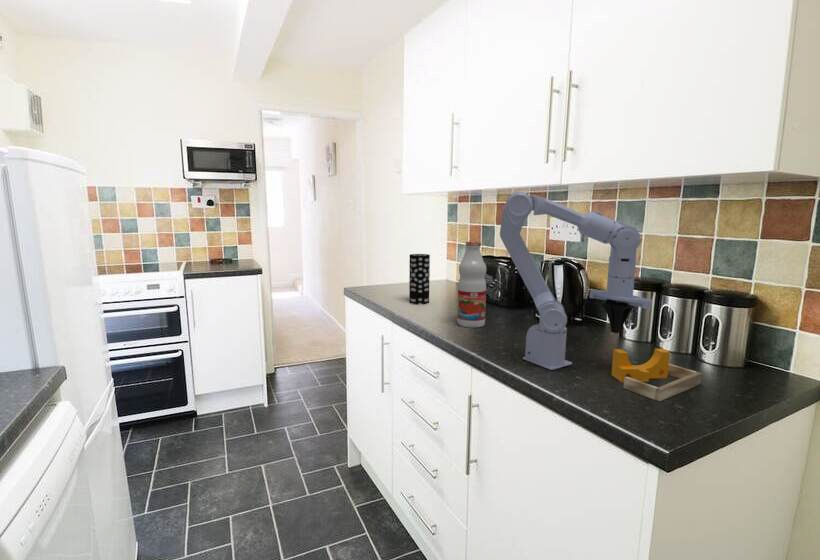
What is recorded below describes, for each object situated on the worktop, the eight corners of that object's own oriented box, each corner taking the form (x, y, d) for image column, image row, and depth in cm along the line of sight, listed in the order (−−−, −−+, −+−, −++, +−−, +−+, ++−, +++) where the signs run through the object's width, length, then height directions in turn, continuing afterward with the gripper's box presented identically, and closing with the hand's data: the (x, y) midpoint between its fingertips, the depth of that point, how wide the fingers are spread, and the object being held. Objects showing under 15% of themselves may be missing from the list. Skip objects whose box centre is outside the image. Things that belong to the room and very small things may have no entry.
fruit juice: (483, 321, 149) (486, 241, 145) (486, 328, 140) (489, 243, 135) (456, 320, 150) (458, 240, 145) (457, 327, 141) (459, 242, 136)
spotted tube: (428, 300, 183) (428, 253, 180) (430, 304, 175) (430, 256, 172) (408, 300, 183) (408, 253, 179) (410, 304, 174) (410, 256, 171)
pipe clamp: (621, 382, 97) (623, 355, 96) (611, 375, 101) (613, 349, 100) (672, 381, 98) (675, 354, 97) (660, 374, 102) (662, 348, 101)
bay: (623, 388, 94) (624, 377, 93) (665, 372, 103) (666, 362, 102) (659, 401, 87) (660, 390, 87) (700, 383, 96) (702, 373, 96)
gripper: (661, 279, 97) (655, 337, 99) (603, 271, 109) (599, 323, 111) (644, 282, 93) (638, 341, 96) (585, 273, 105) (582, 326, 108)
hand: (616, 332), depth 103 cm, fingers closed
